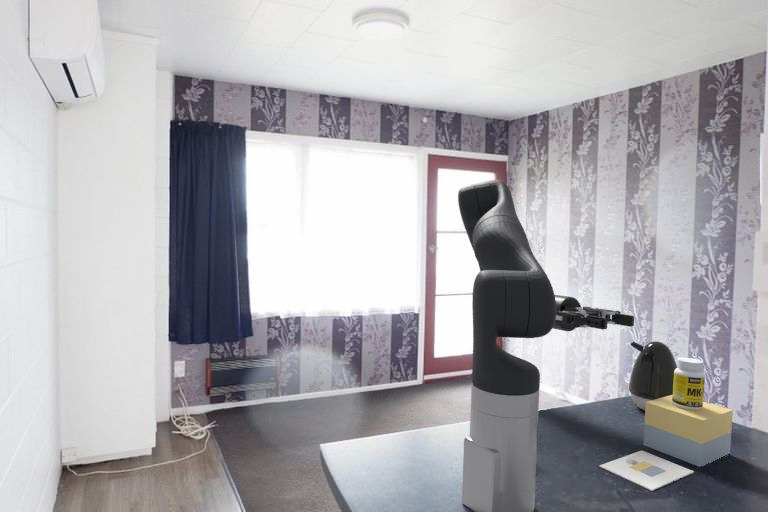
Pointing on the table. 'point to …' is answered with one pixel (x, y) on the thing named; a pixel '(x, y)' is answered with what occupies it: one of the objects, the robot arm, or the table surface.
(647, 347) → the pump dispenser
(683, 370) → the supplement bottle
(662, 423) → the yellow and grey block
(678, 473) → the page
